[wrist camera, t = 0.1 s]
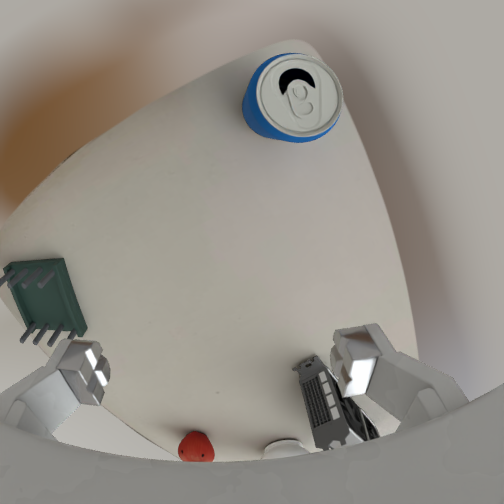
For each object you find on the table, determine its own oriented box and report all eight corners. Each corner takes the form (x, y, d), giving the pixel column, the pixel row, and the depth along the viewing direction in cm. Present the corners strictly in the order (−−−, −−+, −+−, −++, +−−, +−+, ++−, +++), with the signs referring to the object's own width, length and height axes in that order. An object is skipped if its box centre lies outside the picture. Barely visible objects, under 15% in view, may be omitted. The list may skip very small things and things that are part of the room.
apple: (212, 443, 50) (211, 484, 40) (179, 439, 49) (175, 480, 39) (217, 426, 47) (217, 471, 38) (180, 421, 46) (176, 466, 37)
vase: (266, 459, 54) (278, 551, 31) (250, 442, 50) (260, 549, 27) (312, 448, 53) (333, 541, 31) (302, 429, 49) (326, 538, 26)
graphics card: (290, 366, 41) (309, 447, 28) (317, 351, 40) (344, 431, 27) (358, 433, 53) (375, 483, 40) (376, 424, 52) (396, 473, 39)
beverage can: (294, 73, 25) (332, 41, 14) (312, 130, 28) (359, 132, 17) (233, 88, 26) (235, 60, 15) (252, 146, 28) (266, 155, 17)
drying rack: (10, 261, 31) (-11, 279, 26) (63, 257, 32) (42, 277, 27) (35, 325, 36) (19, 346, 31) (87, 328, 36) (73, 352, 31)
